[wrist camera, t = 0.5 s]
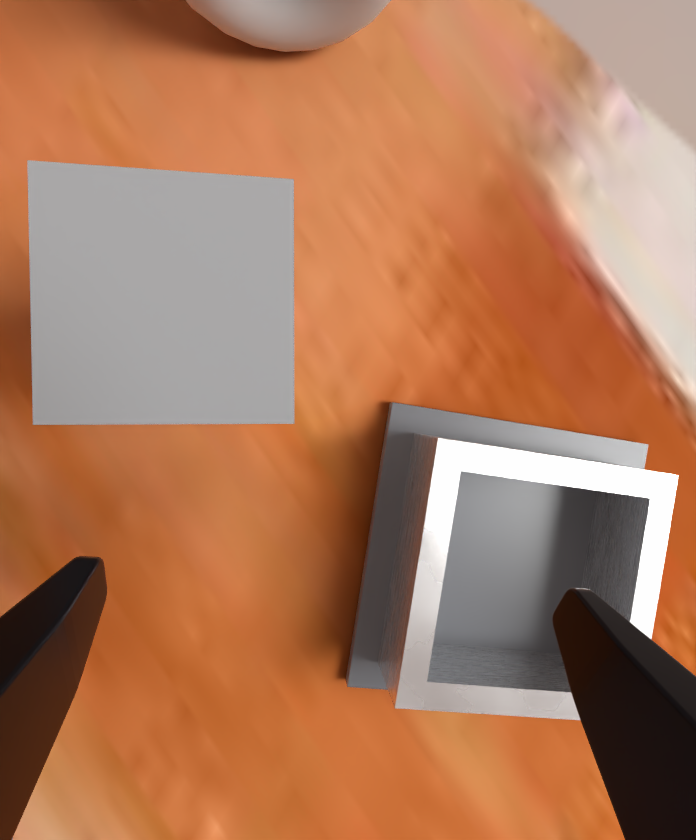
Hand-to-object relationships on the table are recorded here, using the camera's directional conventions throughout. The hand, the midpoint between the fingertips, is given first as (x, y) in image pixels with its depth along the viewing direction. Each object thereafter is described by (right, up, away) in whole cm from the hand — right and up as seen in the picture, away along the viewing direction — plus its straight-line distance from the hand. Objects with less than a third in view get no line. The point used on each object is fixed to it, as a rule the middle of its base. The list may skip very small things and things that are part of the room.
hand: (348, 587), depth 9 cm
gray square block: (-5, +6, +13) cm, 15 cm away
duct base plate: (+8, -4, +15) cm, 18 cm away
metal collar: (+8, -4, +15) cm, 18 cm away
